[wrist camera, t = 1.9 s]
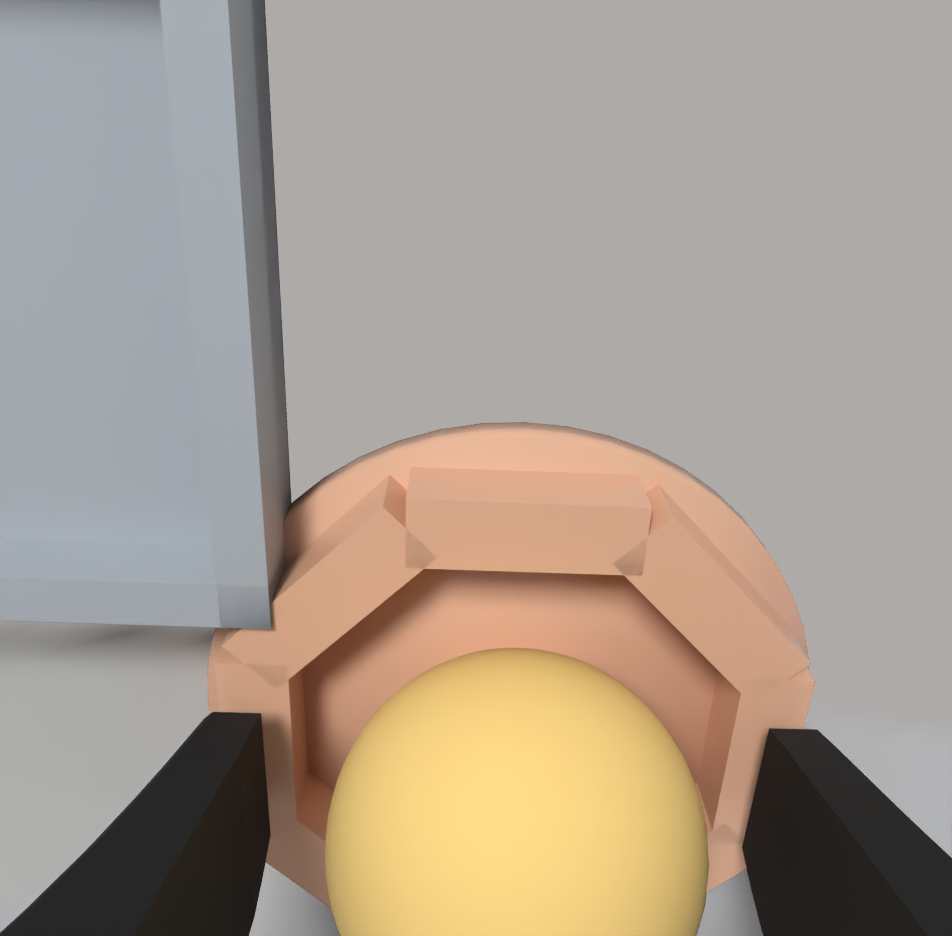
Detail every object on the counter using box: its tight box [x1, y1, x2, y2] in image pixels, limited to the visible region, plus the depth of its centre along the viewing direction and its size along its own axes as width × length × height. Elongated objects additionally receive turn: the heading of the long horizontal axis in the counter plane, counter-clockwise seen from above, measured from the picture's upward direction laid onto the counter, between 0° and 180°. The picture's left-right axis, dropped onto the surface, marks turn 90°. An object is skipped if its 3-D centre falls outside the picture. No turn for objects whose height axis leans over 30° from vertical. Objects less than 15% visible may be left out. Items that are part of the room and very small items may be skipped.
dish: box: [208, 422, 815, 909], centre depth 12 cm, size 8×8×1 cm
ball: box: [325, 648, 709, 936], centre depth 10 cm, size 4×4×4 cm
